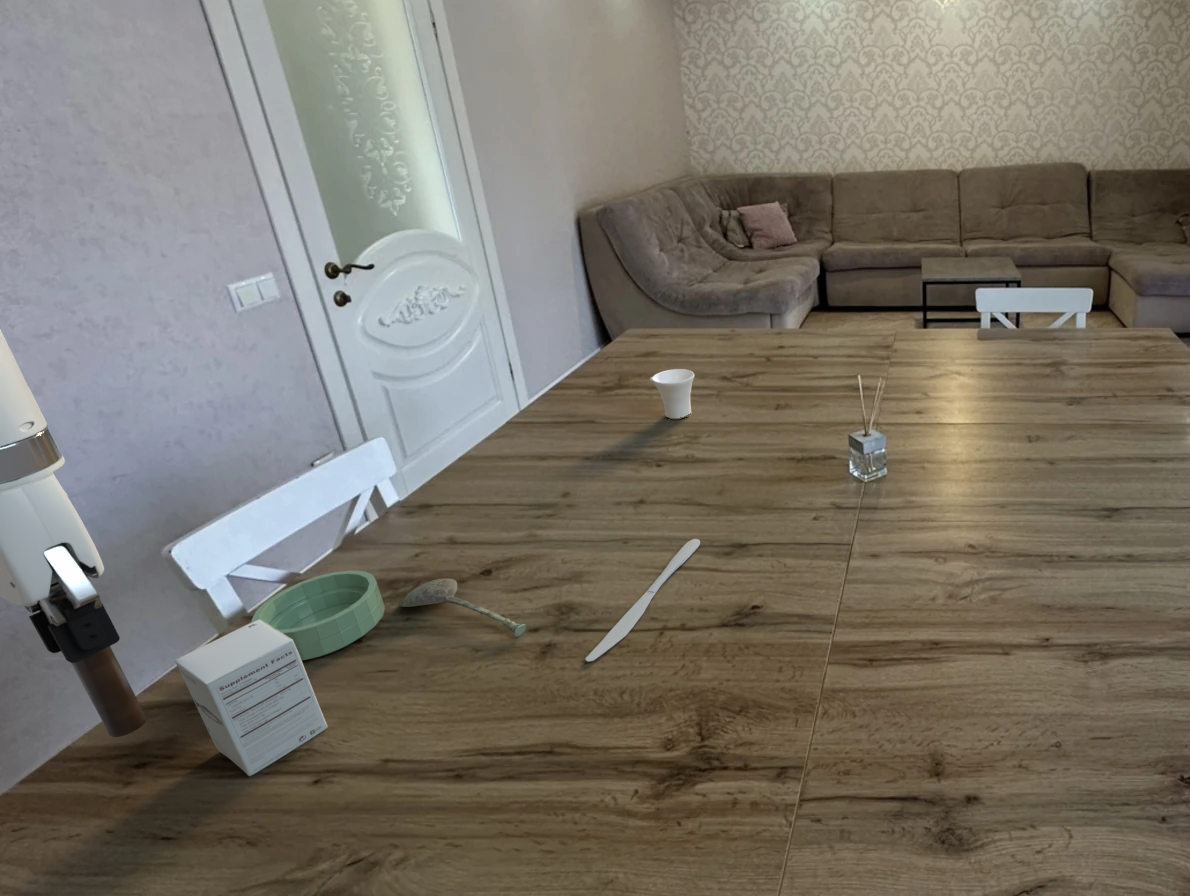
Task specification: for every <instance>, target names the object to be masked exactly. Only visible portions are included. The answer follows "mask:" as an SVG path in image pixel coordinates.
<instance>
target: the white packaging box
mask: <svg viewBox="0 0 1190 896" xmlns="http://www.w3.org/2000/svg"><path fill="white" fill-rule="evenodd" d="M174 663H175V665H176V667H177V669H178V671H179V673H180V675H181V677H182V679H183V681H184V684H185V685H186V687H187V689H188V691H189V693H190V696H191V698H192V700H193V702H194V704H195V706H196V709H197V711H198V713H199V715H200V717H201V719H202V721H203V724H204V726H205V727H206V730H207V732H208V734H209V736H210V739H211V740H212V742H213V744H214V746H215V748H216V750H217V752H219V753H221V754H222V755H223V756H225V757H227V758H228V759H229V760H230V761H231V762H233V763H234V764H235V765H236V766H238V768H239V769H241V770H242V771H243V773H245V774H246V775H247V776H248V777H252V776H254V775H255V774H257V773H258V772H260V771H262V770H263V769H266V768H267V767H268V766H270V765H271V764H273V763H275V762H276V761H278V760H279V759H281V758H282V757H284V756H286V755H287V754H289V753H290V752H293V751H294V750H296V749H297V748H299V747H300V746H302V745H304V744H305V743H307V742H308V741H310V740H311V739H313V738H314V737H316V736H318V735H319V734H321V733H322V732H324V731H326V729H328V723H327V721H326V719H325V716H324V714H323V712H322V709H321V706H320V704H319V702H318V699H317V696H316V694H315V691H314V689H313V686H312V684H311V680H310V679H309V676H308V673H307V671H306V668H305V666H304V662H303V660H301V658H300V655H299V653H298V650H297V648H296V646H295V644H294V641H293V640H292V639H291V638H289V637H288V636H286V635H284V634H283V633H281V632H280V631H278V630H277V629H275V628H273V627H272V626H270V625H268V624H267V623H265V622H264V621H262V620H261V619H260V620H257V621H254V622H252V623H251V622H250V623H247V624H245V625H244V626H241V627H239V628H237V629H234V630H233V631H230V632H229V633H227V634H225V635H223V636H221V637H219V638H217V639H215V640H213V641H211V642H209V643H206V644H205V645H202V646H201V647H198V648H196V649H195V650H192V651H191V652H188V653H186V654H184V655H182V656H179V658H177V659H175V660H174Z"/></svg>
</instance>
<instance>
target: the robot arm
mask: <svg viewBox="0 0 1190 896" xmlns="http://www.w3.org/2000/svg"><path fill="white" fill-rule="evenodd" d="M65 463H66V459H65V457H64V455H63V453H62V451H61V449H60V447H59V445H58V443H57V440H56V439H55V437H54V435H53V432H52V431H51V428H50V427H49V425H48V422H47V420H46V419H45V417H44V415H43V412H42V410H41V408H40V407H39V404H38V402H37V400H36V398H35V396H34V394H33V392H32V390H31V388H30V386H29V384H28V382H27V380H26V378H25V376H24V373H23V372H22V370H21V367H20V366H19V363H18V361H17V360H16V358H15V355H14V353H13V352H12V350H11V348H10V346H9V344H8V341H7V340H6V337H5V336H4V333H3V331H2V329H1V328H0V598H1V599H3V600H5V601H8V602H10V603H12V604H13V605H14V604H15V605H18V606H21V607H24V609H25V610H26V611H27V612H28V613H29V614H31V615H29V616H28V618H29V620H30V622H31V623H32V625H33V627H34V629H35V630H36V632H37V634H38V636H39V637H40V640H41V641H42V643H43V644H44V646H45V648H46V649H47V651H48V652H50V653H51V654H57V653H60V652H61V653H62V655H63V657H64V660H66V661H67V662H69V663H70V664H71V663H75V662H78V661H80V660H82V659H84V658H86V657H88V656H90V655H92V654H94V653H96V652H98V651H101V650H103V649H105V648H107V647H109V646H110V647H111V646H113V645H115V644H117V643H118V642H119V641H120V638H121V637H120V635H119V633H118V631H117V629H116V627H115V625H114V623H113V621H112V620H111V617H110V616H109V614H108V612H107V610H106V608H105V606H104V604H103V602H102V600H101V599H100V598H101V596H100V594H99V593H98V590H97V589H96V588H95V587H94V585H93V584H92V582H91V580H90V578H92V579H99V578H101V576H102V575H103V573H104V572H105V566H104V563H103V561H102V558H101V556H100V553H99V551H98V549H97V547H96V545H95V543H94V541H93V538H92V537H91V536H90V535H91V534H90V533H89V532H88V529H87V527H86V526H85V524H84V522H83V521H82V518H81V517H80V515H79V513H78V512H77V509H76V508H75V507H74V505H73V503H72V501H71V499H70V498H69V496H68V493H67V492H66V491H65V489H64V488H63V487H62V485H61V483H60V482H59V480H58V478H57V476H56V475H55V474H54V472H56V471H57V470H59V469H60V468H62V467H63V466H64V465H65ZM63 594H67V597H66V598H63V599H61V600H59V605H58V604H57V602H56V600H55V599H54V598H56V597H58V596H61V595H63ZM39 600H40V602H41V604H42V606H43V607H44V609H45V611H46V613H47V614H48V616H49V618H50V620H51V621H52V622H53V623H52V624H50V623H49V621H48V619H47V617H46V615H45V613H44V611H43V610H42V608H41V606H40V604H39V602H38V601H39Z"/></svg>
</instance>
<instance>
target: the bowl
mask: <svg viewBox="0 0 1190 896" xmlns="http://www.w3.org/2000/svg"><path fill="white" fill-rule="evenodd" d="M385 610H386V606H385V603H384V600H383V596H382V594H381V591H380V588H379V585H378V582H377V580H376V578H375V576H374V574H372V573H369V572H367V571H364V570H353V569H352V570H351V569H350V570H343V571H341V570H340V571H334V572H329V573H325V574H321V575H317V576H313V577H311V578H308V579H306V580H303V581H300V582H298V583H296V584H293V585H291V586H289V587H287V588H285V589H283V590H281V591H279V592H278V593H276V594H275V595H273V596H272V597H270V598H268V599H267V600H265V602H264V603H263V604H262V605H260V606H259V607H258V609H256V610H255V612H254V614H253V615H252V618H251V620H250V623H252V622H254V621H257V620H260V619H261V620H262V621H264V622H265V623H267V624H268V625H270V626H272V627H273V628H275V629H277V630H278V631H280V632H281V633H283V634H284V635H286V636H288V637H289V638H291V639H292V640H293V641H294V644H295V646H296V648H297V650H298V653H299V655H300V658H301V660H302V661H307V660H311V659H315V658H319V657H323V656H327V655H328V654H332V653H334V652H337V651H338V650H341V649H343V648H345V647H347V646H349V645H351V644H352V643H355V641H358V639H359V640H360V638H362V637H364V636H365V635H367V633H368V632H370V631H371V630H372V629H374V628H375V627H376V626H377V624H378V623H379V622H380V621H381V619H382V618H383V617H384V614H385Z"/></svg>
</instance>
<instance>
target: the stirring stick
mask: <svg viewBox="0 0 1190 896" xmlns="http://www.w3.org/2000/svg"><path fill="white" fill-rule="evenodd" d="M66 597H67V594H63V595H61V596H58V597H56V598H54V599H55V600H56V602H57V604H58V605H59V600H61V599H63V598H66ZM38 602H39V604H40V606H41V608H42V610H43V611H44V613H45V615H46V617H47V619H48V621H49V623H50V624H52V623H53V622H52V621H51V620H50V618H49V616H48V614H47V613H46V611H45V609H44V607H43V606H42V604H41V602H40V600H39V601H38ZM70 664H71V666H72V667H73V669H74V671H75V673H76V675H77V677H78V678H79V680H80V682H81V684H82V686H83V688H84V690H85V692H86V694H87V696H88V697H89V699H90V701H91V703H92V705H93V706H94V708H95V711H96V712H97V714H98V716H99V718H100V720H101V721H102V723H103V725H104V727H105V729H106V731H107V733H108V735H109V736H110V737H111V738H120V737H124V736H127V735H130V734H132V733H133V732H135V731H137V730H139V729H140V728H142V727H143V726H144V725H145V724H146V723H147V720H148V719H147V716H146V714H145V712H144V709H143V708H142V706H141V704H140V702H139V700H138V698H137V696H136V694H135V692H134V690H133V688H132V687H131V686H132V685H130V682H129V680H128V678H127V677H126V675H125V672H124V670H123V669H122V667H121V665H120V663H119V660H118V659H117V657H116V654H115V653H114V650H113V649H112V647H111V646H109V647H107V648H105V649H103V650H101V651H98V652H96V653H94V654H92V655H90V656H88V657H86V658H84V659H82V660H80V661H78V662H75V663H71V662H70Z"/></svg>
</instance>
